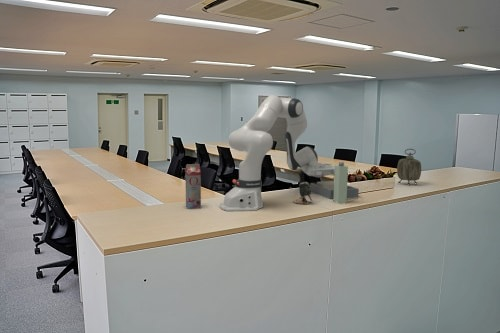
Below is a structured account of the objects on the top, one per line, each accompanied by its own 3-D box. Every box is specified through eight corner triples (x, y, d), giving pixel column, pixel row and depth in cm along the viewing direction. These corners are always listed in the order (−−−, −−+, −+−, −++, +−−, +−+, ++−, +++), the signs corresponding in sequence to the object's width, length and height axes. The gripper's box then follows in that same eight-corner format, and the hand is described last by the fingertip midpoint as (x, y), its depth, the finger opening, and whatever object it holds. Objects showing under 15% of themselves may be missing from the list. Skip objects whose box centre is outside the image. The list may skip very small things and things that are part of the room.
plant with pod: (304, 206, 202) (305, 168, 200) (290, 202, 212) (291, 165, 209) (315, 204, 207) (317, 167, 204) (301, 200, 216) (302, 165, 213)
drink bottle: (338, 203, 209) (339, 163, 206) (333, 201, 213) (334, 162, 210) (346, 203, 210) (348, 162, 207) (341, 201, 215) (343, 161, 212)
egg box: (322, 194, 229) (322, 183, 229) (316, 191, 237) (316, 181, 236) (340, 192, 233) (340, 183, 232) (333, 190, 241) (333, 180, 240)
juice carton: (200, 208, 195) (200, 164, 192) (187, 209, 193) (187, 165, 190) (198, 205, 201) (198, 163, 199) (185, 206, 200) (185, 163, 197)
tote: (330, 201, 215) (330, 190, 215) (310, 192, 238) (310, 183, 237) (358, 199, 221) (358, 188, 220) (336, 191, 244) (336, 181, 243)
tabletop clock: (418, 184, 272) (420, 148, 269) (420, 186, 264) (423, 149, 260) (396, 183, 276) (398, 147, 272) (398, 185, 267) (400, 149, 264)
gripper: (302, 165, 231) (313, 168, 218) (332, 164, 237) (345, 167, 224) (302, 176, 232) (313, 179, 219) (332, 174, 238) (344, 177, 225)
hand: (329, 173), depth 221 cm, fingers open, 8 cm apart
